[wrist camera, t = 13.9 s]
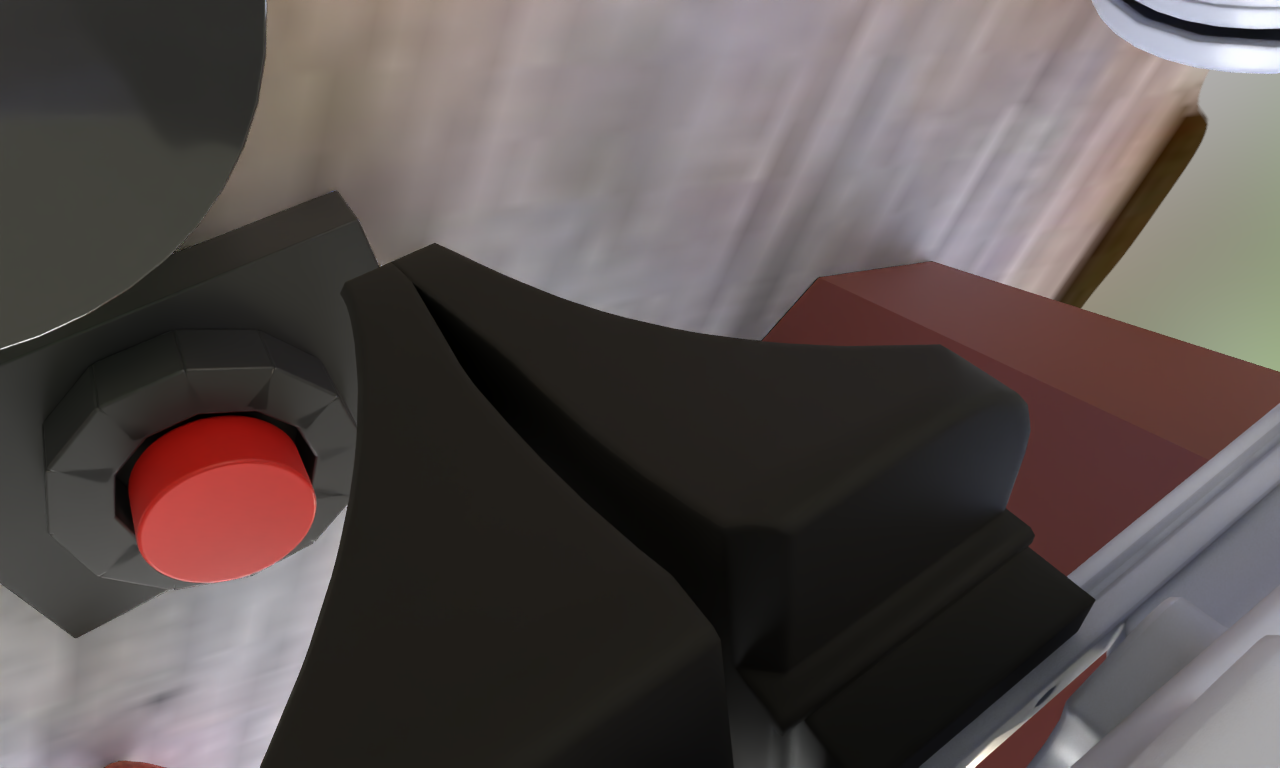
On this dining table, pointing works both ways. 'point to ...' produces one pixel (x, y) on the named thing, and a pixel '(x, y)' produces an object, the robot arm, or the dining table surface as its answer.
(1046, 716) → the bucket
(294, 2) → the dining table surface
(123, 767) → the onion
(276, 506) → the button
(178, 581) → the button housing
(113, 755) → the dining table surface
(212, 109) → the lid
